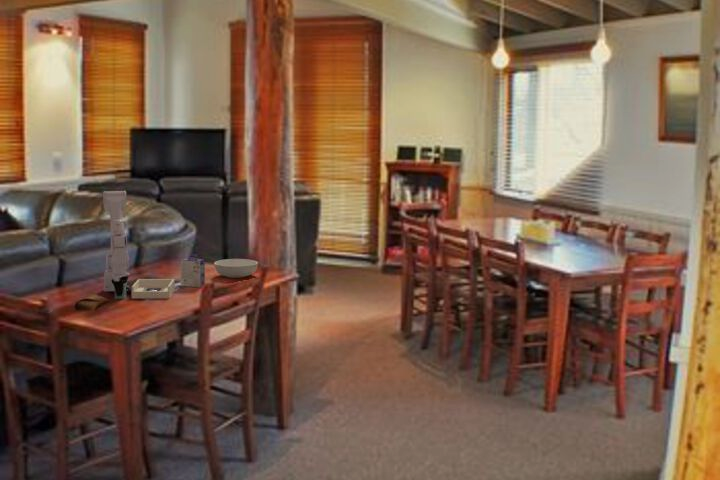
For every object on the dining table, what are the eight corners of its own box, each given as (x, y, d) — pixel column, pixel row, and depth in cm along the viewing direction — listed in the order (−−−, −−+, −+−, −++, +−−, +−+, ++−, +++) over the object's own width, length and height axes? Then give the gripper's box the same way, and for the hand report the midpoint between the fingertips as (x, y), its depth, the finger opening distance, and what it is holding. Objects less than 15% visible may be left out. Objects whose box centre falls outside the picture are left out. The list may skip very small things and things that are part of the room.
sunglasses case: (95, 310, 349) (86, 296, 349) (81, 318, 350) (72, 304, 350) (111, 300, 367) (102, 286, 366) (97, 308, 368) (89, 294, 367)
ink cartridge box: (205, 285, 398) (205, 254, 396) (201, 287, 393) (200, 256, 391) (185, 283, 400) (184, 253, 398) (180, 286, 395) (179, 255, 393)
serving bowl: (265, 277, 416) (265, 263, 415) (225, 282, 404) (225, 268, 403) (246, 270, 433) (245, 256, 432) (207, 274, 421) (206, 260, 420)
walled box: (131, 298, 371) (131, 287, 370) (138, 290, 386) (138, 279, 386) (169, 298, 372) (169, 286, 371) (174, 290, 387) (174, 279, 387)
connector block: (115, 298, 370) (114, 284, 369) (117, 296, 374) (116, 282, 373) (124, 298, 370) (124, 284, 369) (126, 296, 374) (125, 282, 373)
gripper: (125, 266, 363) (126, 298, 365) (132, 259, 377) (133, 290, 379) (108, 266, 362) (109, 298, 365) (115, 259, 377) (116, 290, 379)
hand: (120, 294), depth 372 cm, fingers open, 5 cm apart
